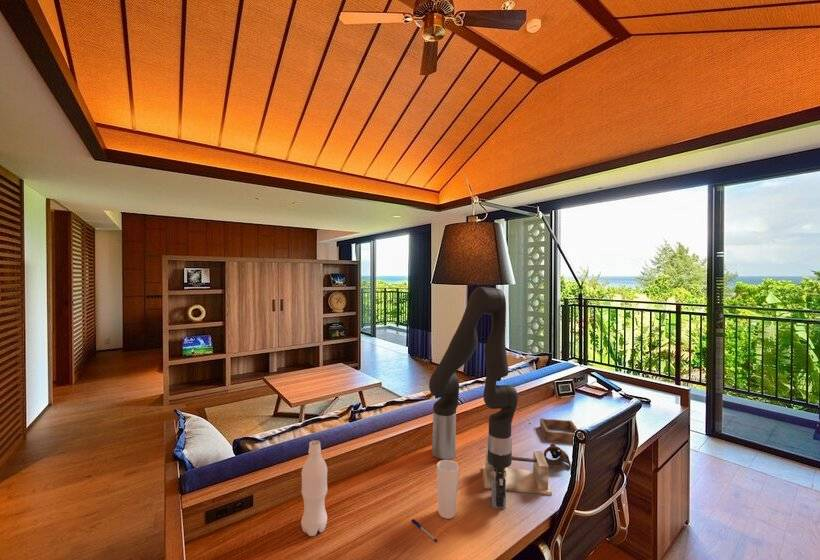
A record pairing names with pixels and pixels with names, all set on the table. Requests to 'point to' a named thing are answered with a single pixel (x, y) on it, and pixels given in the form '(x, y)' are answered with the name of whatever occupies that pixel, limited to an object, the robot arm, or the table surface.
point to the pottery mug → (556, 456)
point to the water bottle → (314, 490)
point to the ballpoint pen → (423, 529)
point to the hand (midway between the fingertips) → (498, 498)
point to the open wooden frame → (557, 424)
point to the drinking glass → (447, 487)
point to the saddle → (493, 496)
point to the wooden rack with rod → (523, 475)
